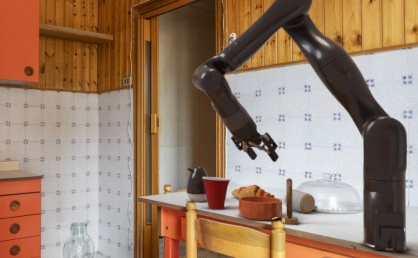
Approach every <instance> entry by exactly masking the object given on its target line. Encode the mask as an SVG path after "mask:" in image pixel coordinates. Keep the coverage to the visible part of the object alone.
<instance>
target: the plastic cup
mask: <svg viewBox="0 0 418 258" xmlns="http://www.w3.org/2000/svg"><path fill="white" fill-rule="evenodd" d="M203 180H204V185H205V190H206V196H207V200H206V201H207V206H208V209H210V210H223V209H224V208H225V203H226V198H227V192H228V187H229V184H230V181H231V178H226V177H217V176H208V177H203Z"/></svg>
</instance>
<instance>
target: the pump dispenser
mask: <svg viewBox="0 0 418 258" xmlns="http://www.w3.org/2000/svg"><path fill="white" fill-rule="evenodd" d="M187 171H188V172H189V176H188V179H187V183H186V189H185V191H186V194H187V197H188V199H189V200H190V201H191V202H194V203H204V202H206V201H207V196H206V190H205V185H204V180H203V177H209V176H208V172H207V171H206V169H205V168H204V166H202V165H195V166H193V167H192V168H191V167H187Z"/></svg>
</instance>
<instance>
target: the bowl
mask: <svg viewBox="0 0 418 258" xmlns="http://www.w3.org/2000/svg"><path fill="white" fill-rule="evenodd" d="M238 215H239V216H241V217H242V218H243V219H248V220H253V221H263V222H264V221H266V222H267V221H269V222H270V221H273V220H272V218H274V217H283V200H282V199H280V198H278V197H274V198H273V197H264V196H247V197H241V198H239V199H238Z"/></svg>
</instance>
